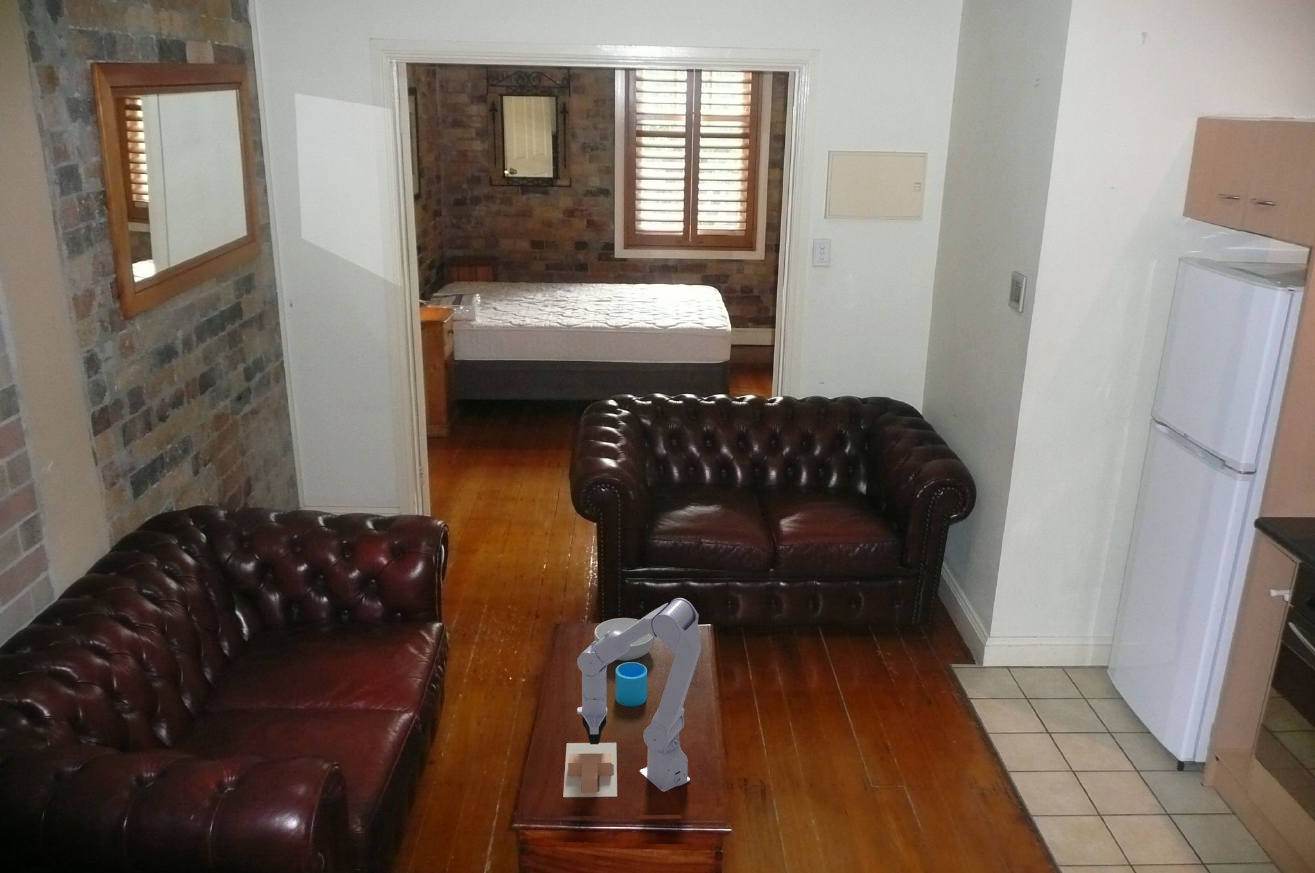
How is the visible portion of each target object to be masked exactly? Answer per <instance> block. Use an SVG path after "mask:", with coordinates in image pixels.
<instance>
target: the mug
mask: <svg viewBox="0 0 1315 873" xmlns="http://www.w3.org/2000/svg"><path fill="white" fill-rule="evenodd" d="M647 682H648V669H647V667H646V666H645V665H644V664H641V663H639V662H633V661H632V662H631V661H630V662H629V661H628V662H623V663H621V664H619V665H617V667H616V668H615V701H616V703H618V704H619V705H622V706H625V707H637V706H638V707H639V706H641V705H643V704H645V703H646V700H647V692H648V691H647V690H648V687H647V686H648V683H647Z"/></svg>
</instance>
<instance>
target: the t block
mask: <svg viewBox="0 0 1315 873" xmlns="http://www.w3.org/2000/svg"><path fill="white" fill-rule="evenodd" d="M568 776H582V793H597V776H612V753H596V754H569V755H568Z"/></svg>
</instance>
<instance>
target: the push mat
mask: <svg viewBox="0 0 1315 873" xmlns="http://www.w3.org/2000/svg"><path fill="white" fill-rule="evenodd" d="M565 750H566V751H565V763H564V766H565V767H564V777H563V778H564V779H563V798H596V797H597V798H598V797H599V798H601V797H602V798H603V797H604V798H605V797H607V798H608V797H610V798H611V797H616V798H617V797H618V772H617V770H618V769H617V765H618V762H617V761H618V760H617V758H618V756H617V742H599V744H590V742H567V743H566V748H565ZM596 753H612V776H597V793H582V776H568V755H569V754H596Z"/></svg>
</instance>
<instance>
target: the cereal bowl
mask: <svg viewBox="0 0 1315 873" xmlns="http://www.w3.org/2000/svg"><path fill="white" fill-rule="evenodd" d="M639 620H640V619H637V618H630V617H629V618H628V617H621V618H620V617H619V618H612V619H608V620H605V621H603V622H601V623H599V624H598V625H597V626H596V627H595V629H594V641H597V642H598V641H599V640H601V639H602V638H604V634H606V633H607V632H608V631H611V632H613V631H615V630H619V631H622V632H624V631H625V630H626V629H628V628H629V627H631V626H632V625H633V624H635V623H636V622H638V621H639ZM654 642H655V638H654V637H653V636H652V635H651V634H650V633H649V634H647V635H645V636H644V637H642V638H640V639H638V640H637V641H635V642H633V643H631V644H630V649H629V651H628V652H627V653H626V654H624V655H623V656H621V657H619V658H618V659H616V661H624V662H625V661H628V662H629V661H631V660H635V659H638V658H640V657H643V656H645V655H646V654H648V652H649V651H651V649H652V648H653V645H654Z"/></svg>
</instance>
